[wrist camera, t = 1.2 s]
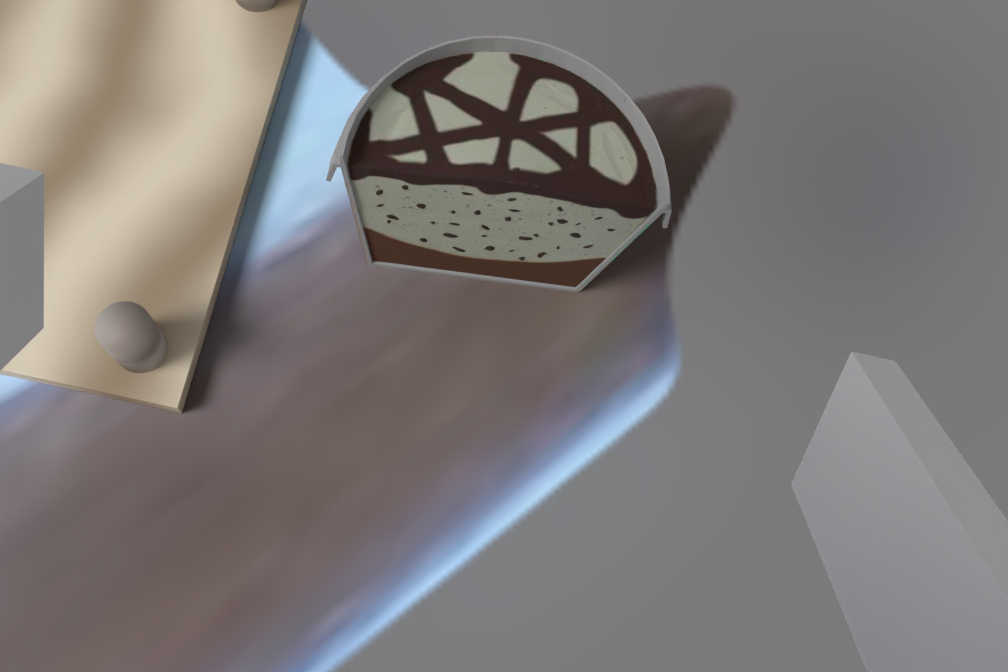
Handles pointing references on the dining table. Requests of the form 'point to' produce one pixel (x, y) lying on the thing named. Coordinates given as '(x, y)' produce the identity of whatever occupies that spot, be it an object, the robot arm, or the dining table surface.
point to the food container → (500, 165)
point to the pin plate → (136, 174)
